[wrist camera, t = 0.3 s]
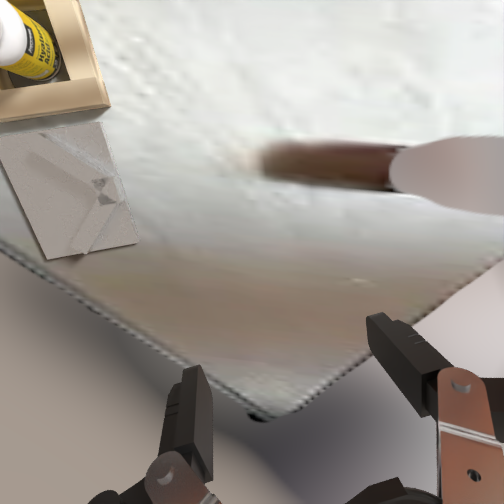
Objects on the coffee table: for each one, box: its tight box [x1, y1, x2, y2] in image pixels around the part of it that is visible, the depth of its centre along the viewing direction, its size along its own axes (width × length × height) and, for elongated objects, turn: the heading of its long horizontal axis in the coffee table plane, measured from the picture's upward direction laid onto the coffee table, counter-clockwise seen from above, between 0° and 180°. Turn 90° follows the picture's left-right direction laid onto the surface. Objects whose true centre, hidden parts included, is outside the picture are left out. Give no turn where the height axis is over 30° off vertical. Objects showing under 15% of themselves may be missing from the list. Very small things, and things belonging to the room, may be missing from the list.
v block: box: [0, 122, 140, 260], centre depth 34 cm, size 15×12×4 cm
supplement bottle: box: [0, 0, 61, 81], centre depth 25 cm, size 5×5×10 cm
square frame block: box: [0, 0, 111, 122], centre depth 29 cm, size 12×12×2 cm
